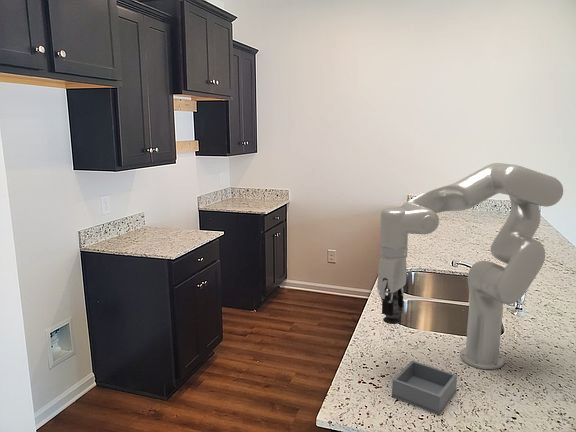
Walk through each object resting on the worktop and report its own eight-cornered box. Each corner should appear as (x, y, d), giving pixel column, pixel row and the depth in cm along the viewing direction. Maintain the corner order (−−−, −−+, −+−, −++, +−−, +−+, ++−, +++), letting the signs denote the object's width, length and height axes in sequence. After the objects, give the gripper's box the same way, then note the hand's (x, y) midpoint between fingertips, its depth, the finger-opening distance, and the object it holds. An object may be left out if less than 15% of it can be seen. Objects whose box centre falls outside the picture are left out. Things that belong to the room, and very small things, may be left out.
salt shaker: (378, 320, 132) (378, 281, 129) (388, 314, 136) (389, 276, 134) (396, 326, 128) (397, 286, 125) (406, 319, 132) (407, 280, 130)
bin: (411, 376, 132) (412, 360, 131) (456, 391, 124) (457, 375, 123) (391, 396, 122) (392, 379, 121) (439, 414, 114) (440, 397, 113)
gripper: (394, 242, 137) (393, 298, 140) (367, 256, 123) (366, 317, 127) (418, 246, 132) (416, 304, 136) (392, 260, 119) (391, 324, 122)
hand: (392, 310), depth 131 cm, fingers closed on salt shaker, 5 cm apart
